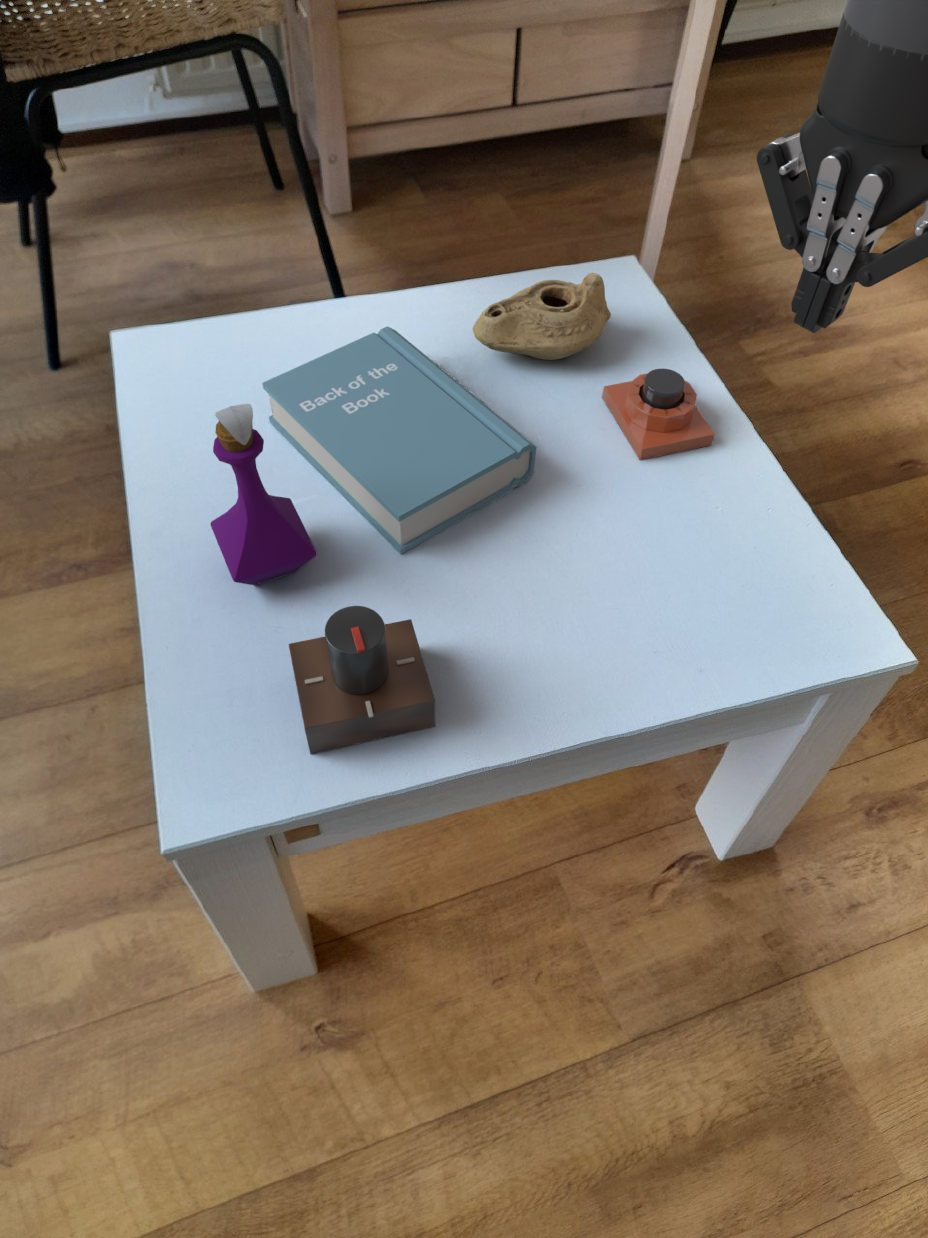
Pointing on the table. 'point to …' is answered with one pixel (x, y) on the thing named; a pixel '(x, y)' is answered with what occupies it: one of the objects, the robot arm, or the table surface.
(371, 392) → the book
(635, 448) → the button base
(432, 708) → the dial panel
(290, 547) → the perfume bottle
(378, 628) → the dial
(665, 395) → the dark grey knob
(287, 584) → the table surface
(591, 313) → the oil lamp
